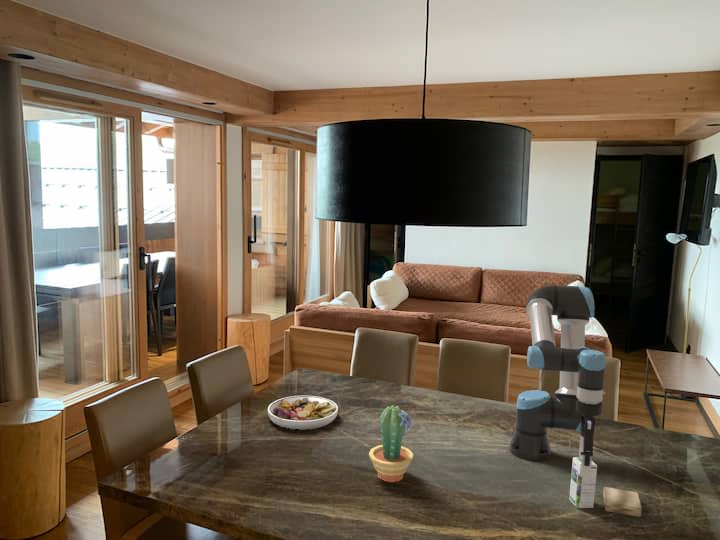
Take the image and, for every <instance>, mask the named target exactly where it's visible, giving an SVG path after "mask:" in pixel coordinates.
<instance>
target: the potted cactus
mask: <svg viewBox="0 0 720 540" xmlns="http://www.w3.org/2000/svg"><path fill="white" fill-rule="evenodd" d="M411 426H412V419H411V417H410V415H409V413H406V412H405V411H404V410H402V409H401V408H400V407H399V406H398V405H397V406H395V405H394V404H392V405H391V406H390V405H389V406H386V407H385V409H384V410H383V412H382V413H381V414H380V416H379V427H380V432H381V437H382V444H380V445H379V444H378V445H377V446H374V447H372V448H371V449H370V450H369V452H368V457H369V459H370V460H371V462H372V466H373V467H374V469H375V470H376V473H377V475H378V476H377V477H378V479H379V478H380V479H379V480H381V479H382V480H381V481H383V480H384V482H386V481H387V482H388V483H396V481H397V482H400V481H401V480H403V478H404V474H405V473H406V472H407V470H408V468H409V465H410V464H411V463H412V461H413V458H414V453H413V452H412V451H411V450H410V448H407V447H406V446H404V445H403V446H402V443H403V437H404V436H405V434H406V433H407V431H408V430H409V429H411Z"/></svg>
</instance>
